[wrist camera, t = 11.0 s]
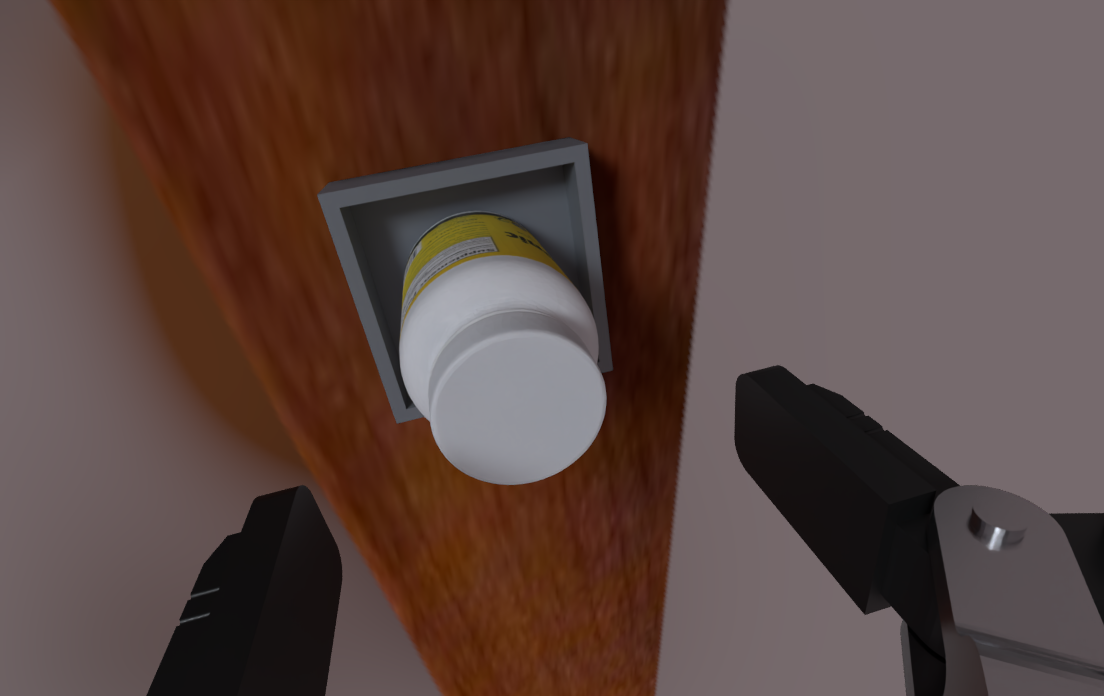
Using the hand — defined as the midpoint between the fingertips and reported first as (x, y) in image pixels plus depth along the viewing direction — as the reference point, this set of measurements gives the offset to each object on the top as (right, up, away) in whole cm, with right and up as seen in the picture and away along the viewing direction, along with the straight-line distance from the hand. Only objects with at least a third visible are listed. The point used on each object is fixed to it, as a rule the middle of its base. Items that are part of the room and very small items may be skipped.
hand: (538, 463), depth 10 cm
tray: (-3, +5, +11) cm, 12 cm away
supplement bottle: (-3, +5, +11) cm, 12 cm away
